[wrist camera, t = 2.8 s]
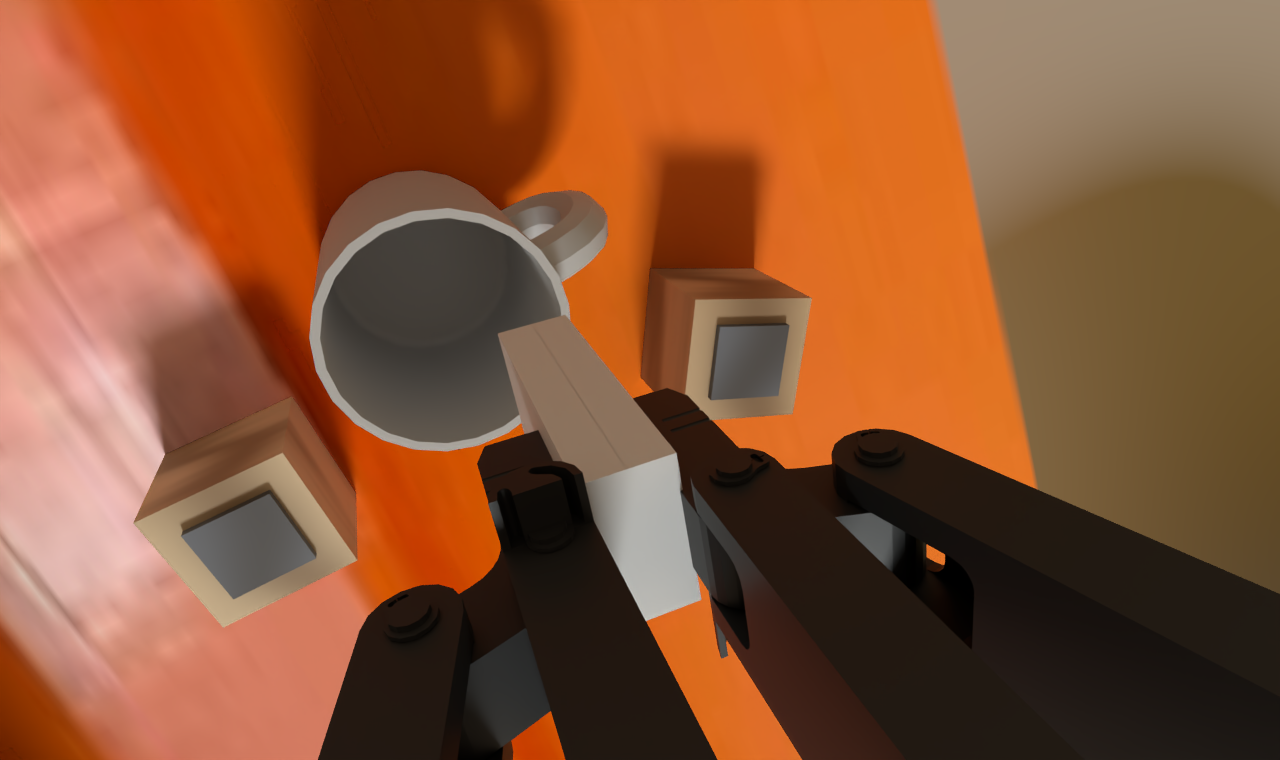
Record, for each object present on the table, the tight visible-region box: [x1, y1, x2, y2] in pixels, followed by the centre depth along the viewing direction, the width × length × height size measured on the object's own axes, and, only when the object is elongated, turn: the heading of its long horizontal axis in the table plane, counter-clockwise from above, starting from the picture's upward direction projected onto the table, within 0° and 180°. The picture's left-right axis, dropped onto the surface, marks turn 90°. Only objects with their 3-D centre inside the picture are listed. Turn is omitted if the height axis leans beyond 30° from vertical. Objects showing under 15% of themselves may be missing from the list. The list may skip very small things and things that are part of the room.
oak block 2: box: [641, 268, 812, 420], centre depth 32 cm, size 5×5×5 cm
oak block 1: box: [134, 396, 357, 628], centre depth 28 cm, size 5×5×5 cm
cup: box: [309, 170, 608, 451], centre depth 26 cm, size 7×10×9 cm
